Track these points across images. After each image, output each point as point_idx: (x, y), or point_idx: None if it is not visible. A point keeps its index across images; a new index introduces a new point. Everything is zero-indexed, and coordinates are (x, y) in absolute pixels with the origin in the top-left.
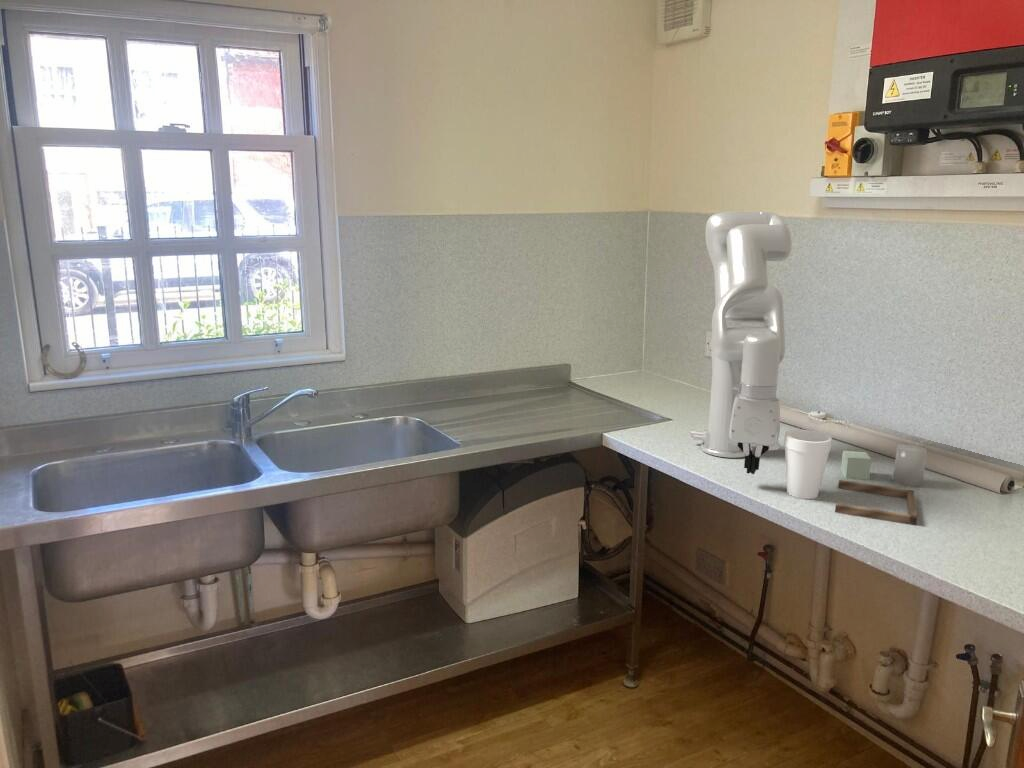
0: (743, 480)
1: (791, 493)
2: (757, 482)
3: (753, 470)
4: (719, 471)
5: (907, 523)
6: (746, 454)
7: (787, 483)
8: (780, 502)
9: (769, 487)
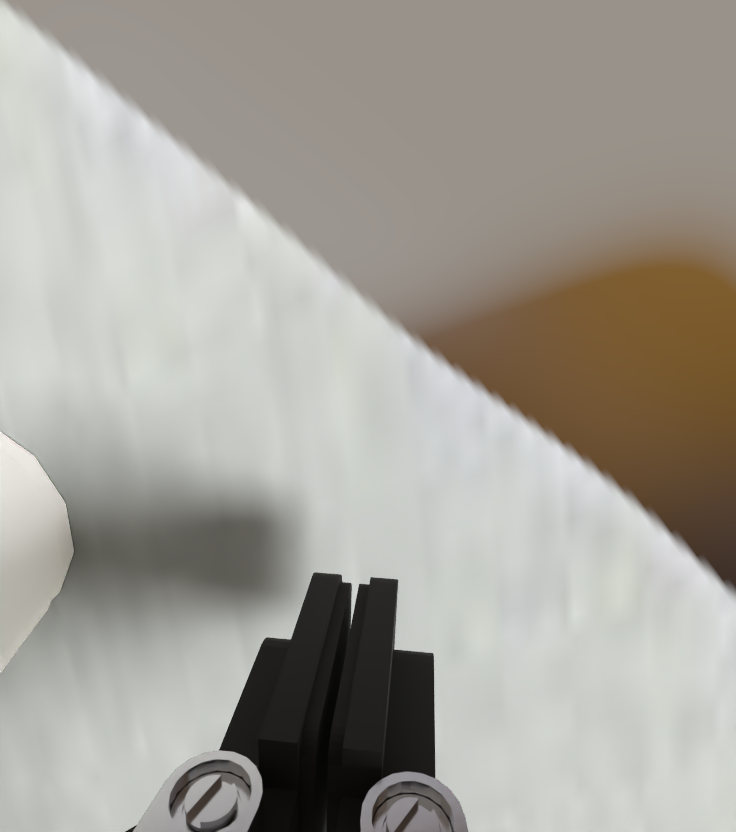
0: (435, 653)
1: (7, 453)
2: None
3: (314, 595)
4: (646, 788)
5: None
6: (411, 802)
7: (5, 528)
8: (57, 232)
9: (213, 567)
